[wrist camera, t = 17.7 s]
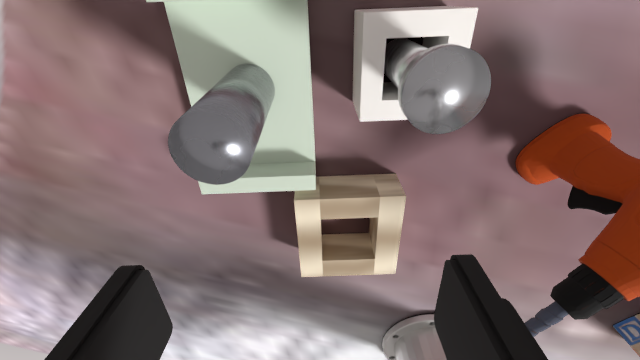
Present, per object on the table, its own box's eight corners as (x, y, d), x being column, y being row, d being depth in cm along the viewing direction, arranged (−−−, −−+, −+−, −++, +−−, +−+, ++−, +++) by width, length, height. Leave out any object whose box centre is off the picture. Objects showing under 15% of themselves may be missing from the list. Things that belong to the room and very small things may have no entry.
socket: (387, 247, 35) (395, 273, 32) (302, 250, 35) (301, 277, 32) (395, 173, 30) (405, 196, 27) (296, 177, 30) (294, 200, 27)
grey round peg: (277, 112, 25) (257, 183, 16) (230, 114, 25) (181, 186, 16) (271, 62, 23) (244, 109, 14) (219, 64, 23) (156, 113, 14)
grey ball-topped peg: (422, 86, 25) (479, 132, 16) (369, 88, 25) (398, 135, 16) (431, 26, 23) (501, 44, 14) (372, 29, 23) (407, 48, 14)
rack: (315, 167, 30) (315, 190, 26) (214, 171, 30) (201, 194, 26) (306, -29, 21) (304, -34, 18) (166, -23, 21) (138, -27, 18)
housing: (432, 98, 26) (455, 118, 22) (352, 101, 26) (359, 121, 22) (447, 5, 23) (478, 7, 18) (354, 9, 23) (363, 12, 18)
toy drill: (419, 234, 32) (513, 375, 19) (573, 99, 27) (849, 161, 14) (446, 255, 34) (550, 398, 21) (596, 132, 29) (860, 216, 16)
